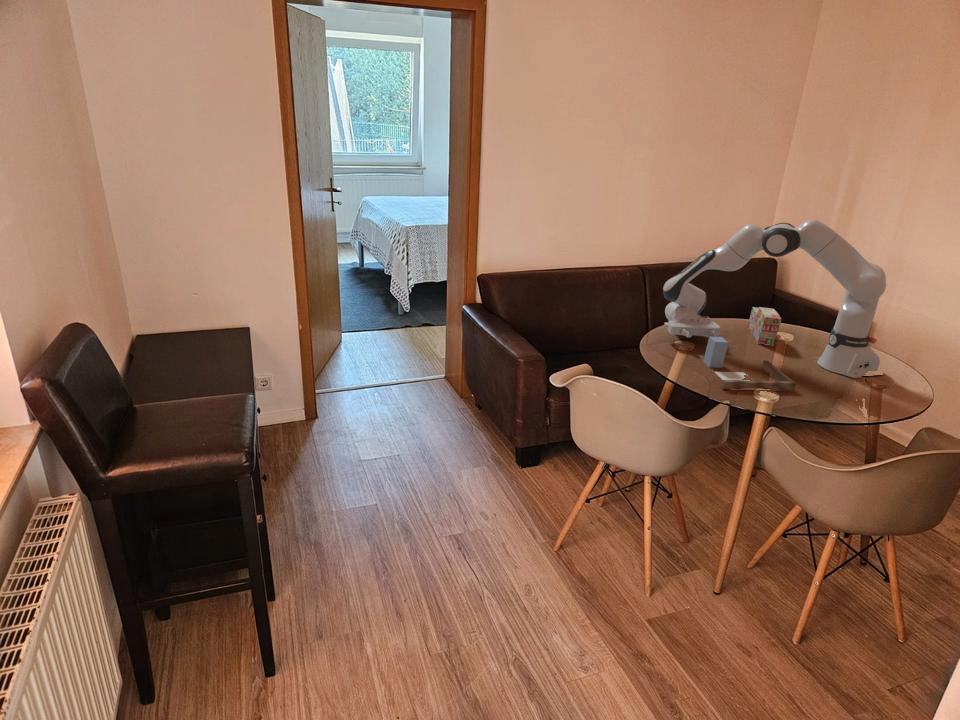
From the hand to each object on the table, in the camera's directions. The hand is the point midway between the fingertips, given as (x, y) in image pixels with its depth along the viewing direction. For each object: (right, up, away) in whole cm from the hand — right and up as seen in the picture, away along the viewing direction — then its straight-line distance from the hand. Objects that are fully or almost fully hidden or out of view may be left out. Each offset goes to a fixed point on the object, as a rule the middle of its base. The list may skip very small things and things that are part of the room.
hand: (701, 336), depth 231 cm
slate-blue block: (+1, -11, -8) cm, 14 cm away
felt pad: (+5, -16, -19) cm, 26 cm away
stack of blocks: (+33, +1, +23) cm, 40 cm away
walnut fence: (+9, -16, -18) cm, 25 cm away
